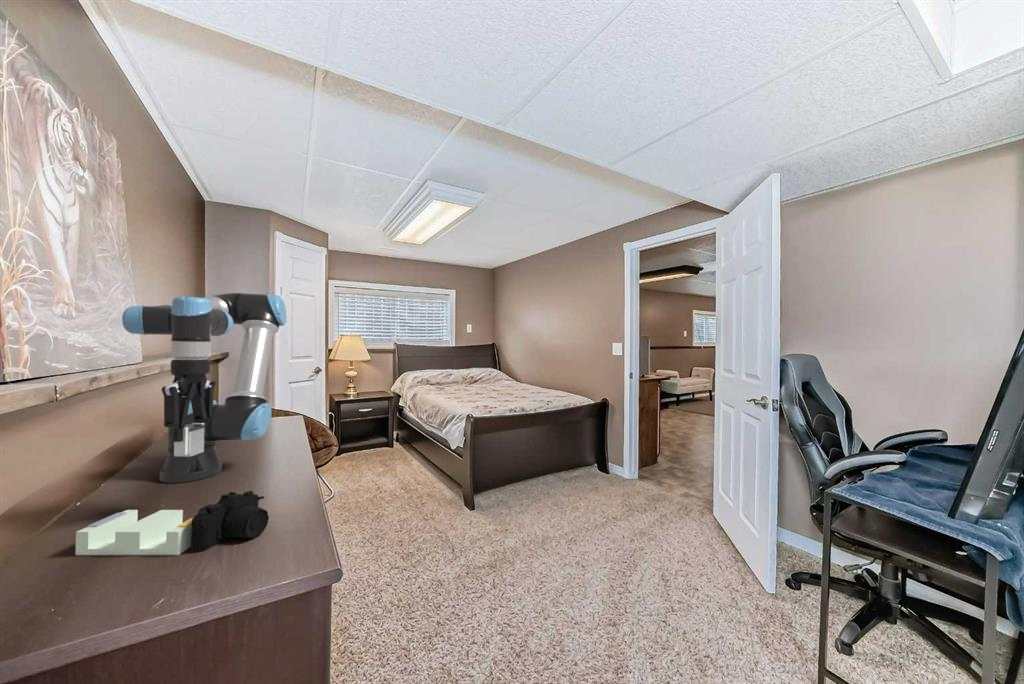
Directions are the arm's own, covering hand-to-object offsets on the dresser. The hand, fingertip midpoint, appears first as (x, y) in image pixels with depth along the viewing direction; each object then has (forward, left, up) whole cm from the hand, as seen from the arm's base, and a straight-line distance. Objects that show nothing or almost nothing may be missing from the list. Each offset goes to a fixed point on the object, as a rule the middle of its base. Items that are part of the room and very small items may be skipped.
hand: (189, 451), depth 93 cm
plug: (0, 0, -1) cm, 1 cm away
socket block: (+14, +4, -15) cm, 21 cm away
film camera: (+12, +20, -16) cm, 28 cm away
